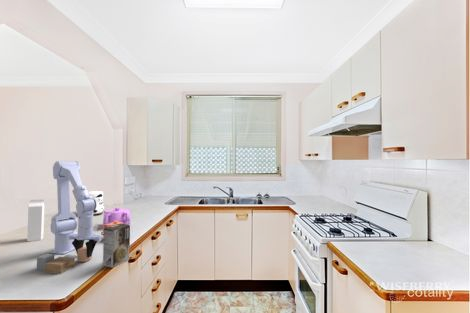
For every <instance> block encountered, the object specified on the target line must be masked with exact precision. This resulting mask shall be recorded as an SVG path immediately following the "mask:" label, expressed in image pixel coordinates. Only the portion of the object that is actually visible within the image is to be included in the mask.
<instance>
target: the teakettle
mask: <svg viewBox="0 0 470 313" xmlns="http://www.w3.org/2000/svg"><path fill="white" fill-rule="evenodd" d="M130 212H131V209H129V208H126V209H125V208H120V207H117V206H116V207H115V208H114V209H110V210H105V211H103V221H102V226H103V225H104V224H110V223H113V221H118V222H122V223H123V224H126V225H131V213H130ZM106 227H107V225H105V226H104V228H106Z"/></svg>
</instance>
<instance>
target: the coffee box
mask: <svg viewBox="0 0 470 313" xmlns="http://www.w3.org/2000/svg"><path fill="white" fill-rule="evenodd" d="M130 228H131V224H129V225H126V224H122V223H120V224H116V225H113V226H110V227H106V228H105V227H104V233H103V234H104V237H103V238H102V239H103V244H102V246H103V247H102V248H103V249H102V250H103V251H102V266H105V267H108V268H111V269H113V268H116V267H118V266H120V265H122V264H124V263H126V262H128V261H130V253H131V252H130V244H131V241H130V240H131V239H130V238H131V229H130Z"/></svg>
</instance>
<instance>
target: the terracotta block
mask: <svg viewBox="0 0 470 313" xmlns="http://www.w3.org/2000/svg"><path fill="white" fill-rule="evenodd" d="M76 256H77V258H76V260H77V262H84V263H85V262H88V261H89V260H91V259H92V258H93V255H92V256H90V257H87V248H86V245H85V246H84V245H83V247H82V248H80V249H78V250H77V252H76Z"/></svg>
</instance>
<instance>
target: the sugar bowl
mask: <svg viewBox="0 0 470 313" xmlns="http://www.w3.org/2000/svg"><path fill="white" fill-rule="evenodd" d="M120 223H122V222H118V221H113V223H110V224H104V225H103V224H102V226H101V227H102V228H101V229H102V231H101V233H100V236H102V238H104V228H105V227H104V226H105V225H107V227H110V226H113V225H116V224H120ZM122 224H123V223H122Z"/></svg>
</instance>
